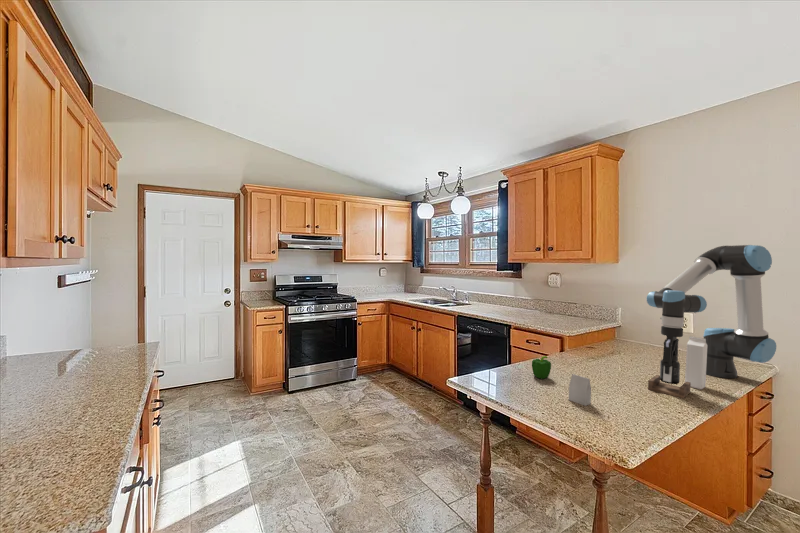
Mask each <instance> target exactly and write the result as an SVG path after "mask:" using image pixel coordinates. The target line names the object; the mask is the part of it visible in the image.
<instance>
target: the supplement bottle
mask: <svg viewBox="0 0 800 533" xmlns="http://www.w3.org/2000/svg"><path fill="white" fill-rule="evenodd" d="M662 363H663V358H662V359H661V360H660V362H659V364H660V365H659V366H660V367H659V376H660V382H661V383H665V384H669V385H679V384H680V377H681V376H680V375H681V374H680V373H681V372H680V370H681V364H680V362H679V360H678V361H677V355H676V354H673V356H672V364H671V367H672V376H671V382H667V381H663V372H664V366H663V365H661V364H662ZM666 363H667V362H666Z"/></svg>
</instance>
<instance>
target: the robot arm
mask: <svg viewBox="0 0 800 533" xmlns="http://www.w3.org/2000/svg"><path fill="white" fill-rule="evenodd" d="M772 258H773V257H772V254H771V253H770V251H769V250H768V249H767V248H766V247H764V246H762V245H758V244H757V245H756V244H754V245H753V244H743V245H742V244H741V245H739V244H738V245H721V246H716V247H714V248H711V249H708V250H707V251H705V252H703V253H701V254H700V255H698V257H697V258H695V259H694V261H693V263H692V264H691V265H690V266H688V267H687V268H685V270H684V271H682V272H681V273H679V274H678V276H676V277H675V278H673V279H672V280H671V281H670V282H668V283H667V284H666V285H665V286H663V287H662V289H660V290H659V291H656V290H655V291H650V292H648V294H647V295H646V303H647V304H648V305H649V306H650V307H652V308H656V309H662V310H661V312H662V315H661V317H660V320H661V327H660V334H661V335H662V336H666V338H665V339H664V341H663V355H662V359H663V363H662V364H661V365H663V366H664V372H663V381H667V382H671V376H672V367H671V364H672V356H673V354H676V355H677V361H678V362H679V341H680V338H681V337H683V336H684V334H683V333H684V328H683V327H684V325H685V324H684V323H685V321H684V320H685V317H684V316H685V313H695V314H697V313H702V312H704V311H705V310H706V309H707V306H708V302H707V300H706V299H705V298H704V296H702V295H697V294H692V295H691V294H686V293H687V292H688V291H690V290H691V289H692V288H694V287H695V285H697V284H699V282H701V281H702V280H703V279H705V278H706V277H707V276H708V275H713V274H715V273H716V272H718V271H729V273H730V276H731V277H733V278H734V281H735V298H736V299H735V300H736V301H735V302H736V313H737V314H736V316H737V328H736V329H735V328H729V327H728V328H726V327H707V328H705V330H703V331H704V332H703V336H702V337H703V338H704V339H706V344H707V364H706V376H707V375H708V376H713V377H717V378H724V379H737V378H738V370H737V367H736V365H735V362H734V357H735V358H738V359H742V360H747V361H749V362H750V361H751V362H755V363H762V364H765V363H767V362H770V361H771V360H772V359H773V357H774V356H775V354H776V352H777V342H776V341H775V340H774V339H772V338H770V337H769V332H768V331H767V330H765V329H764V316H763V311H764V310H763V295H762V279H761V278H762V277H764V276H765V275H766V271H768V270H770V269H771V266H772V263H773V259H772ZM666 362H667V363H666Z"/></svg>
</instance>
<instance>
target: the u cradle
mask: <svg viewBox="0 0 800 533" xmlns="http://www.w3.org/2000/svg"><path fill="white" fill-rule="evenodd" d="M690 385H691V383H690V382H685V381H684V383H683V384H682V385H681V386H677V385H674V384H669V383H665V382H661V380H660V374H659V375H658V374H656V375H654V376H653V377H651V378H649V379H648V382H647V390H649V391H653V392H657V393H661V394H665V395H668V396H673V397H676V398H681V399H684V398H685V397H687V396H688V394H690V393H691V387H690Z"/></svg>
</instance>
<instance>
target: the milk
mask: <svg viewBox="0 0 800 533" xmlns="http://www.w3.org/2000/svg"><path fill="white" fill-rule="evenodd" d="M685 356H686V357H685V376H684V383H685V382H690V383H691V385H690V388H694V389H698V390H703V389H704V388H706V382H707V381H706V380H707V379H706V378H707V374H706V364H707V344H706V339H704V337H703V338H702V337H696V336H689V338H688V341H687V342H686V355H685Z"/></svg>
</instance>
